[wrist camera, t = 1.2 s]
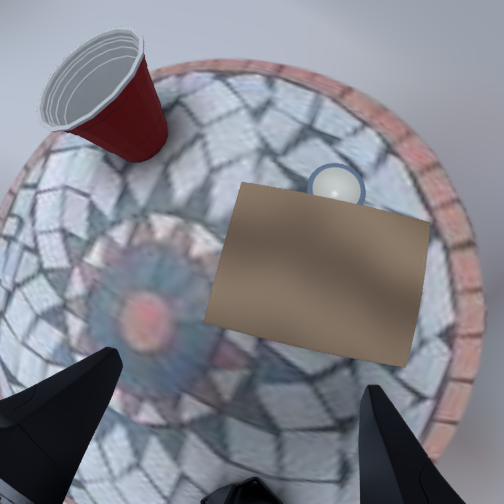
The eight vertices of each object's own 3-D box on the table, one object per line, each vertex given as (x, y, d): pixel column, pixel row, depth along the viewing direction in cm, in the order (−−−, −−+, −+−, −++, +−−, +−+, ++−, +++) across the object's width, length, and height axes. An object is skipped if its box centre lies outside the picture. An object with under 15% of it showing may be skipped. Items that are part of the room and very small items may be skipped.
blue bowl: (368, 209, 24) (377, 194, 21) (329, 240, 24) (333, 229, 21) (334, 171, 25) (338, 152, 22) (295, 200, 25) (295, 183, 22)
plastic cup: (94, 194, 29) (17, 142, 17) (112, 113, 31) (58, 52, 19) (187, 179, 27) (123, 101, 15) (195, 94, 29) (155, 12, 18)
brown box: (371, 351, 21) (405, 367, 13) (235, 320, 23) (203, 321, 16) (391, 252, 23) (430, 222, 15) (259, 223, 25) (241, 181, 17)
